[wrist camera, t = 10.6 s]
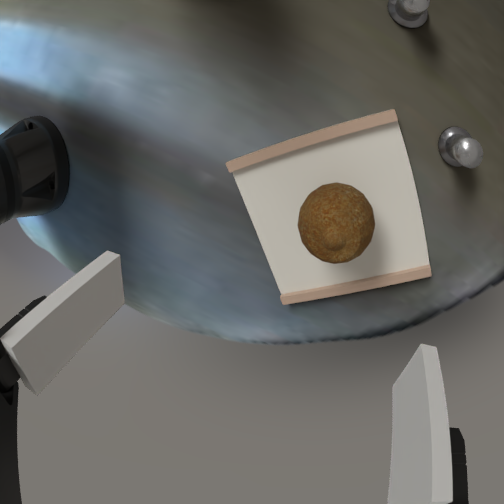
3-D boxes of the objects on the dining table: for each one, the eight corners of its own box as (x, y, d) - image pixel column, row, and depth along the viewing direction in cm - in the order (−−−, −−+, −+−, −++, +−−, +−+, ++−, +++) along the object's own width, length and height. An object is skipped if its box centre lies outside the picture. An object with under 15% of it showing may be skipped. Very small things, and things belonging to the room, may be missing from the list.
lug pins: (443, 169, 24) (455, 179, 20) (381, -3, 19) (384, -18, 15) (476, 161, 22) (492, 171, 19) (416, -9, 17) (424, -24, 14)
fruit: (337, 158, 26) (331, 179, 19) (386, 208, 27) (396, 245, 20) (292, 205, 29) (270, 240, 23) (339, 250, 30) (332, 296, 23)
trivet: (285, 297, 35) (283, 304, 34) (230, 160, 30) (225, 162, 29) (429, 269, 28) (431, 276, 27) (392, 108, 23) (394, 109, 22)
